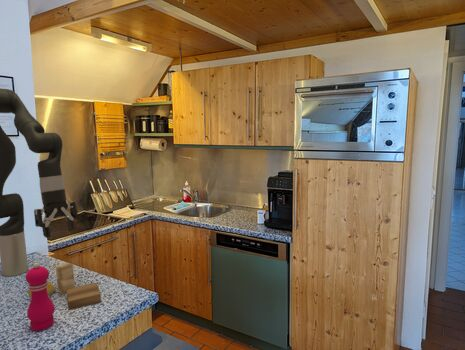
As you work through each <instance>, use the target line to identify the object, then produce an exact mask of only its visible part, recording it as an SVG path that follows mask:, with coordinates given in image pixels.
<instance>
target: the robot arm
mask: <svg viewBox="0 0 465 350" xmlns="http://www.w3.org/2000/svg"><path fill="white" fill-rule="evenodd" d="M0 114H13V115H14V118H13V125H14V127H15V129H16V130H17V131H18V132H19V133H20V134H21V135H22V137H24V139H25V142H26V145H27V146H28V149H29V150H30V151H31V152H33V153H35V154H48V157H47V158H46V159H43V160H40V161H38V162H37V171H38V177H39V189H40V195H41V201H42V205H43V207H42V208H36V209H34V211H33V214H34V223H35V225H34V226H36V227H37V228H39V227H40V228H41V229H42V235H43V237H44V238H45V239H49V238H51V230H50V229H51V228H50V226H49V225H50V224H51V222H52V221H53V219H57V218H64V219H65V220H66V224H67V225H66V226H67V231H68V232H73V231H74V229H75V224H74V220H75V219H77V218H78V217H79V214H78V210H77V205H76V202H75V201H69V202H68V203H67V196H66V190H65V189H66V188H65V182H64V178H63V174H62V168H61V161H62V152H63V146H64V145H63V140H62V137H61V136H60V135H59V134H58V133H56V132H46V131H45V128H44V126H43V125H42V124H41V123H40V122H39V121H38V120H37V119H36V118H35V117H34V116H33V115H32V114H31V113H30V112H29V110H28V109H27V106H26V105H25V104H24V102H23V101H22V99H21V98H20V97H19V95H18V94H17V93H16V92H15V91H14V90H12V89H8V88H0ZM16 152H17V150H16V146H15V144H14V142H13V141H12V139H11V138H10V137H9V136H8V134H7V133H6V132H5V130H4V129H3V128H2V126H1V125H0V219H5V218H8V220H7V221H5V222H4V223H2V224H1V225H0V268H1V274H2V276H3V277H15V276H18V275H22V274H24V273H27V272H28V271H29V266H28V265H29V264H28V253H27V247H26V237H25V236H26V235H25V212H24V211H25V210H24V209H25V207H24V200H23V197H21V194H19V193H16V192H15V193H14V192H13V193H9V194H8V193H7V194H3V192H4V187H5V183H6V181H7V179H8V178H9V177H10V175H11V173H12V172H13V170H14V169H15V166H16V164H17V156H16V155H17V153H16ZM68 209H69V211H68ZM44 214H45V215H44ZM43 215H44V217H43Z"/></svg>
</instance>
